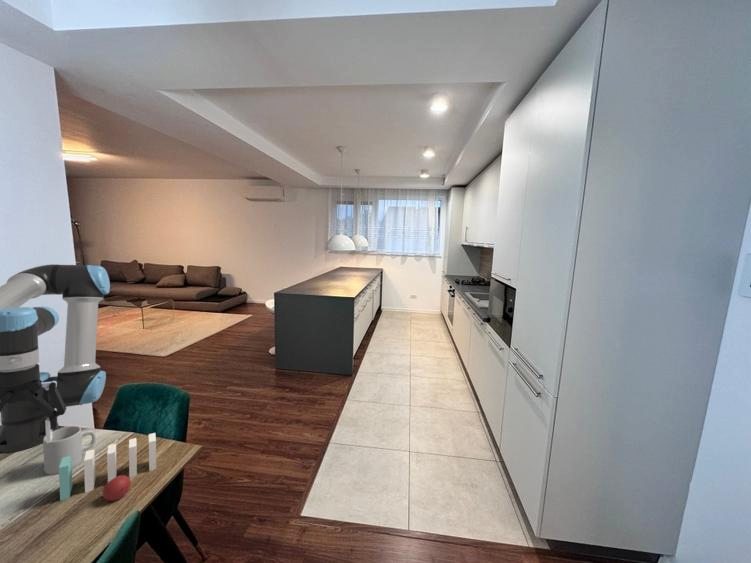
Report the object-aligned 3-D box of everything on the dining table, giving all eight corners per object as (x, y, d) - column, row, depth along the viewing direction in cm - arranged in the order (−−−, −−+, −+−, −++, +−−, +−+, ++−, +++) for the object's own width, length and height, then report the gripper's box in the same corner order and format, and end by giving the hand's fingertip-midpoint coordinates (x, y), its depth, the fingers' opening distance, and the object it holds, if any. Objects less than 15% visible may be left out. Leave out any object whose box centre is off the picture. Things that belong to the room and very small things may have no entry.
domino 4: (129, 477, 92) (128, 448, 91) (129, 468, 96) (129, 439, 95) (136, 475, 93) (136, 446, 92) (136, 465, 97) (136, 437, 96)
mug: (45, 479, 90) (44, 445, 89) (43, 465, 95) (41, 433, 94) (98, 459, 99) (97, 428, 98) (93, 447, 104) (92, 418, 103)
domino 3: (108, 484, 89) (107, 454, 88) (109, 474, 93) (108, 445, 92) (115, 482, 90) (115, 452, 89) (116, 472, 94) (116, 443, 93)
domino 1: (60, 500, 83) (58, 468, 82) (63, 489, 87) (62, 457, 86) (69, 497, 84) (68, 465, 83) (72, 486, 88) (71, 455, 87)
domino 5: (149, 471, 95) (149, 442, 94) (149, 462, 99) (148, 434, 98) (156, 468, 96) (156, 440, 96) (155, 459, 100) (155, 432, 99)
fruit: (107, 511, 82) (114, 495, 80) (97, 495, 84) (104, 478, 82) (132, 496, 88) (139, 479, 86) (123, 481, 90) (130, 464, 87)
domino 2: (85, 492, 86) (83, 460, 85) (87, 481, 90) (86, 451, 89) (93, 489, 87) (92, 458, 86) (95, 479, 91) (94, 449, 90)
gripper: (-63, 382, 67) (-55, 473, 69) (74, 363, 81) (77, 439, 83) (-47, 370, 72) (-40, 454, 75) (79, 355, 86) (81, 426, 88)
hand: (21, 447), depth 79 cm, fingers open, 9 cm apart
